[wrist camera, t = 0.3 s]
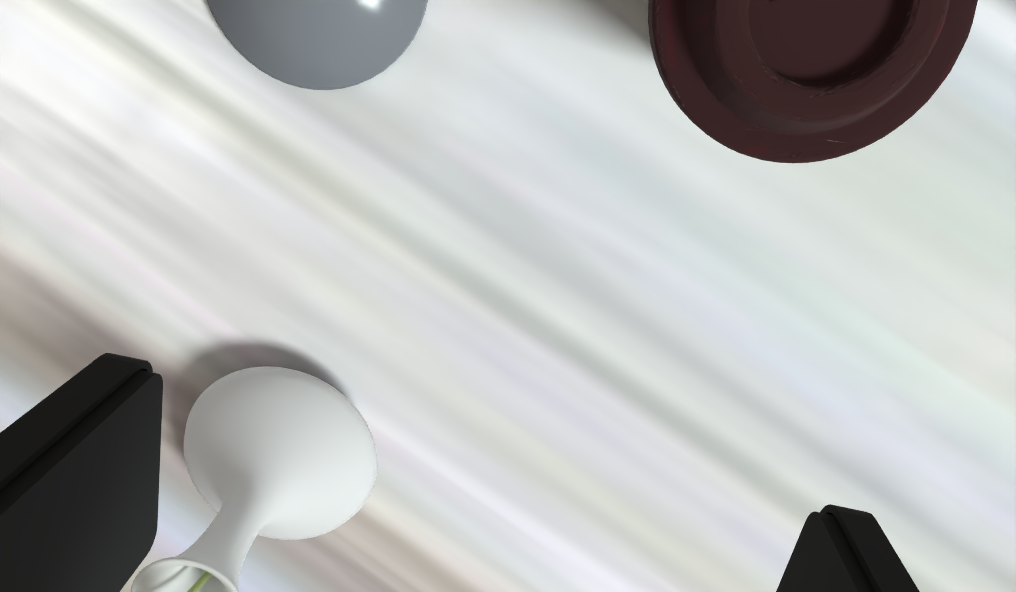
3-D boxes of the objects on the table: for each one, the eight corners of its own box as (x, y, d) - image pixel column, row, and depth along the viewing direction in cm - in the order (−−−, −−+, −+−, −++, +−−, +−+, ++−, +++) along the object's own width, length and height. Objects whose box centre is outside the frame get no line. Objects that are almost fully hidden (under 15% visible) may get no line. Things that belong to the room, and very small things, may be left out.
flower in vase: (398, 379, 45) (220, 790, 21) (367, 535, 49) (189, 1025, 25) (177, 326, 44) (-249, 685, 21) (164, 488, 48) (-205, 939, 25)
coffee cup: (853, 73, 37) (1030, 115, 23) (652, 138, 39) (703, 214, 25) (813, -148, 34) (989, -254, 20) (596, -68, 36) (618, -113, 22)
